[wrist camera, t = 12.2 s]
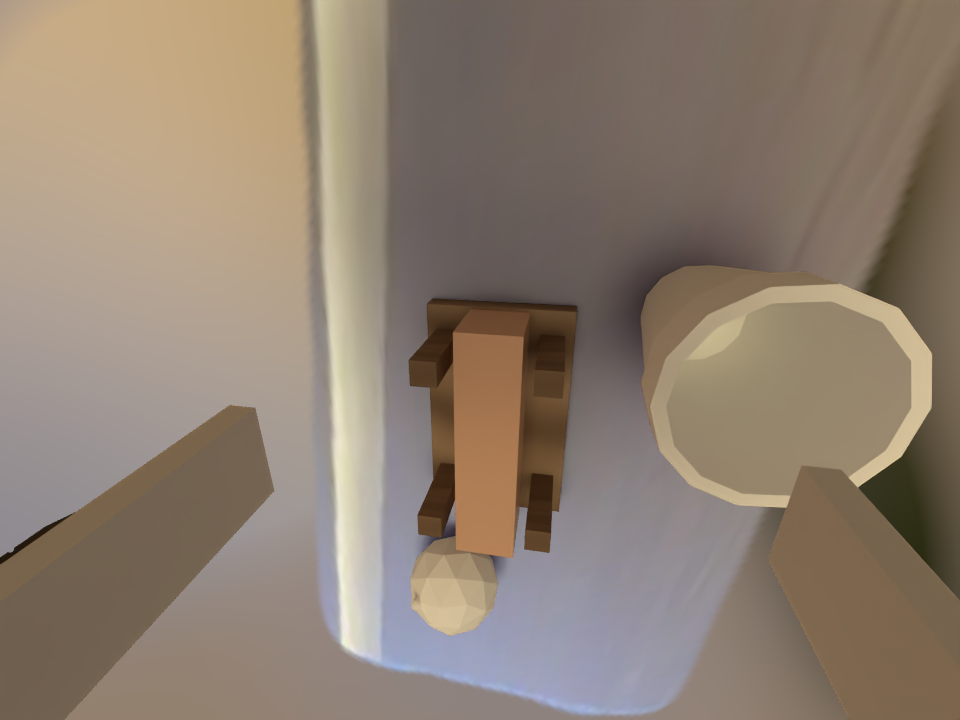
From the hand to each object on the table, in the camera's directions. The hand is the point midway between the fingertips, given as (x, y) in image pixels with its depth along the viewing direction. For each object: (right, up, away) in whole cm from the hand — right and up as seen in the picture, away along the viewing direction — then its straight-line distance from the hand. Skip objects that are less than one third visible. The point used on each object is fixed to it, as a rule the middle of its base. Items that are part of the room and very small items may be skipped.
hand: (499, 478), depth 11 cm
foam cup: (+13, +6, +18) cm, 23 cm away
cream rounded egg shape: (-2, -14, +29) cm, 32 cm away
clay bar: (+1, -1, +21) cm, 21 cm away
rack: (+1, 0, +22) cm, 22 cm away
